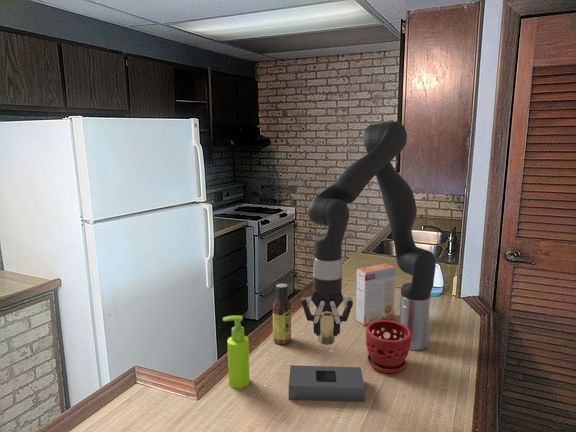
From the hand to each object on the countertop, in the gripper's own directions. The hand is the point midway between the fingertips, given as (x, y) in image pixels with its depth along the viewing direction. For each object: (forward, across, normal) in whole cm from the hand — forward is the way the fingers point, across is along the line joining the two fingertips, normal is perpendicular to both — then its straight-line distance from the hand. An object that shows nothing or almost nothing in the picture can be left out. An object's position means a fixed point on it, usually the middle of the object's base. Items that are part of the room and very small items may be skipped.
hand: (326, 334), depth 111 cm
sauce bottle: (+17, +14, -27) cm, 35 cm away
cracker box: (+17, -20, -45) cm, 52 cm away
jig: (+16, 0, 0) cm, 16 cm away
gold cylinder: (+2, 0, 0) cm, 2 cm away
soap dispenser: (+17, +25, -2) cm, 30 cm away
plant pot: (+17, -19, -13) cm, 28 cm away
